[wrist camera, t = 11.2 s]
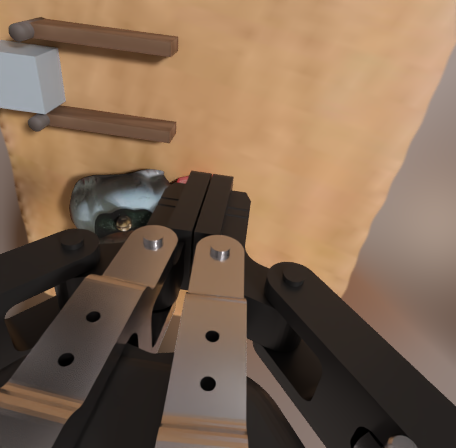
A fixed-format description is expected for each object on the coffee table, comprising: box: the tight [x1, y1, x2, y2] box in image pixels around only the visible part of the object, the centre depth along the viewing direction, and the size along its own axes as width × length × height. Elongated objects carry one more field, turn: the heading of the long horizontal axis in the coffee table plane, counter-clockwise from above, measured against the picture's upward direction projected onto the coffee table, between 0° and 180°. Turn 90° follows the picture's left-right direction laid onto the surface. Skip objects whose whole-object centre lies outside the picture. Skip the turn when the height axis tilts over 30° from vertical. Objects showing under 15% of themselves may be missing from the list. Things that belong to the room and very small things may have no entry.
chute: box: [9, 17, 178, 143], centre depth 42 cm, size 11×16×5 cm
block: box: [0, 40, 66, 114], centre depth 43 cm, size 6×7×5 cm
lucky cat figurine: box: [69, 169, 171, 244], centre depth 49 cm, size 15×12×14 cm
